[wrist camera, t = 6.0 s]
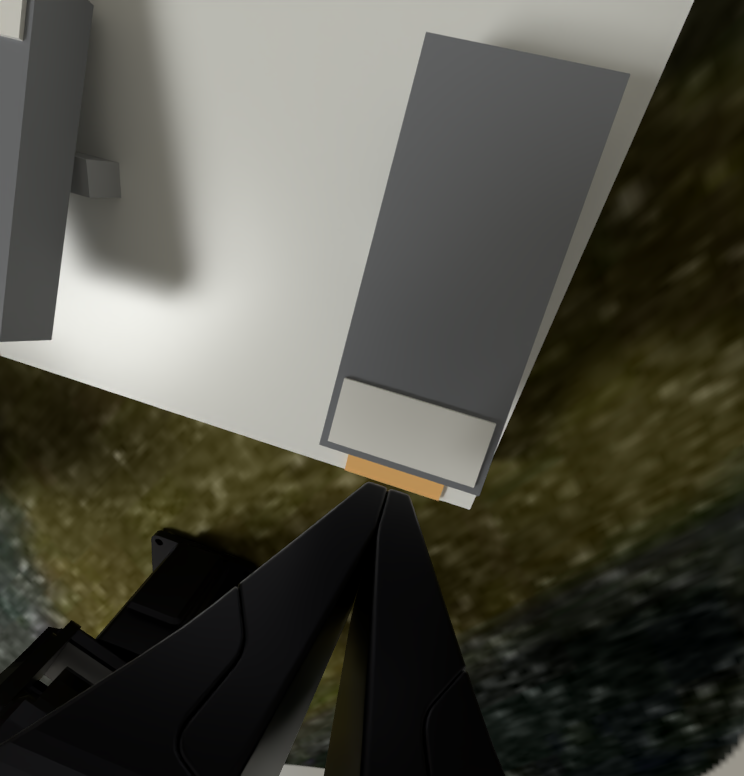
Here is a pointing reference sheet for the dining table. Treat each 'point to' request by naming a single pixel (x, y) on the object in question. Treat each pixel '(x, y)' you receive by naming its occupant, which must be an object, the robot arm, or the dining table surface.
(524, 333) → the block
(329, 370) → the switch base
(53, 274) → the rocker
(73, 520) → the dining table surface
